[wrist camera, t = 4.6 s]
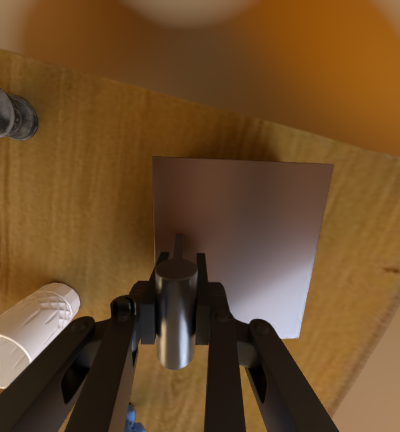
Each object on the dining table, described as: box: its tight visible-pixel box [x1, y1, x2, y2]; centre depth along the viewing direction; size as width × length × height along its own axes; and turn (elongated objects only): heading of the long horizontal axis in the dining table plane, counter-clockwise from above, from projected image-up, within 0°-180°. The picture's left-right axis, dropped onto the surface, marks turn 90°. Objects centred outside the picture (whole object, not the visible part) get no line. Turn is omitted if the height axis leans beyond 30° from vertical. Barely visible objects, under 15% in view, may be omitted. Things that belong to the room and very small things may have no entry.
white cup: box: [0, 282, 80, 388], centre depth 25 cm, size 8×8×10 cm
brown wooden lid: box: [152, 156, 334, 370], centre depth 15 cm, size 16×19×8 cm
